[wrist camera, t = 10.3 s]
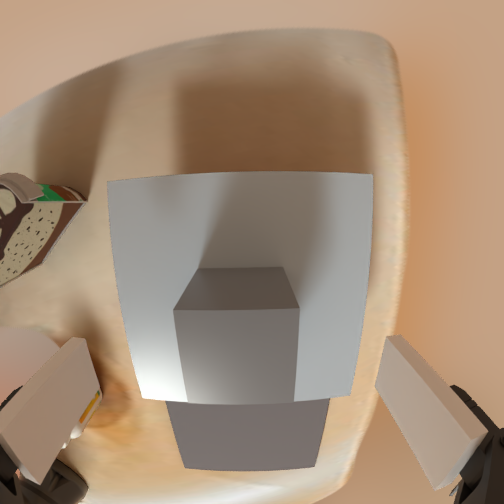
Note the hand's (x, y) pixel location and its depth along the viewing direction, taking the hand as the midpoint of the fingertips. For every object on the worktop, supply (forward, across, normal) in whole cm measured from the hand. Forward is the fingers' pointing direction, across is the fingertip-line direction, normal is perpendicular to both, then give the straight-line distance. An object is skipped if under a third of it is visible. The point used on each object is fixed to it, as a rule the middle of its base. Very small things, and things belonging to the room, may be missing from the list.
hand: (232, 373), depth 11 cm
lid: (+8, 0, 0) cm, 8 cm away
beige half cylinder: (+15, +20, -6) cm, 25 cm away
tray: (+14, 0, +20) cm, 24 cm away
